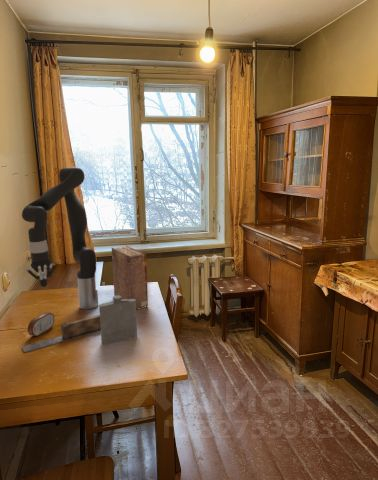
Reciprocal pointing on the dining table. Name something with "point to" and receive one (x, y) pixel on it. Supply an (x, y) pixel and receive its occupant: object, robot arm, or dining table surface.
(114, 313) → the hip flask
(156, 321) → the dining table surface
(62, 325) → the brown wooden block
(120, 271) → the book
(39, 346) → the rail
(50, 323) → the tin
